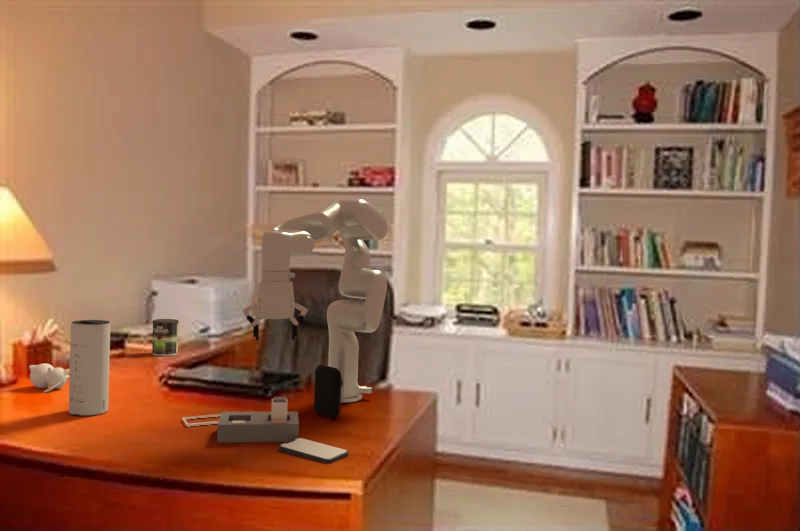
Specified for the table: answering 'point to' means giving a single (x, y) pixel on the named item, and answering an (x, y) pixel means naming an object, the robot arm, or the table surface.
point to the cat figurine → (48, 376)
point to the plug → (279, 408)
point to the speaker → (89, 367)
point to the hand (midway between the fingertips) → (275, 339)
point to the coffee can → (165, 337)
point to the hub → (256, 427)
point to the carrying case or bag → (327, 391)
